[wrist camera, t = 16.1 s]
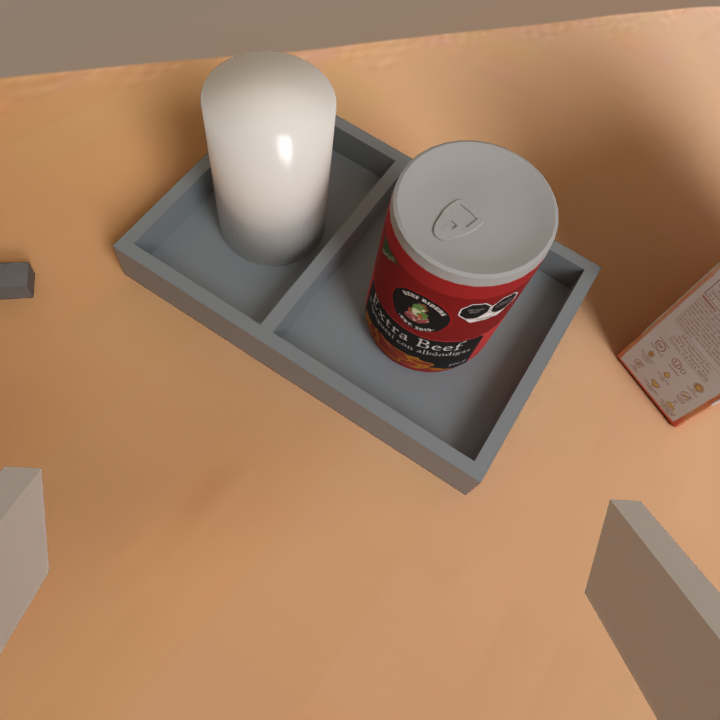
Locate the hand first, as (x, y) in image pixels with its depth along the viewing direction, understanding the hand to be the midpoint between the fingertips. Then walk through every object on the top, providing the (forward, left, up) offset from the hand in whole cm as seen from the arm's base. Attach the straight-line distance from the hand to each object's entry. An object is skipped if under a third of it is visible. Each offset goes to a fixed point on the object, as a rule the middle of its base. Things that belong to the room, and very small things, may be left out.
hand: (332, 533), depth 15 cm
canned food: (-3, +17, -19) cm, 25 cm away
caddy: (-8, +17, -19) cm, 27 cm away
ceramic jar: (-14, +17, -19) cm, 29 cm away
